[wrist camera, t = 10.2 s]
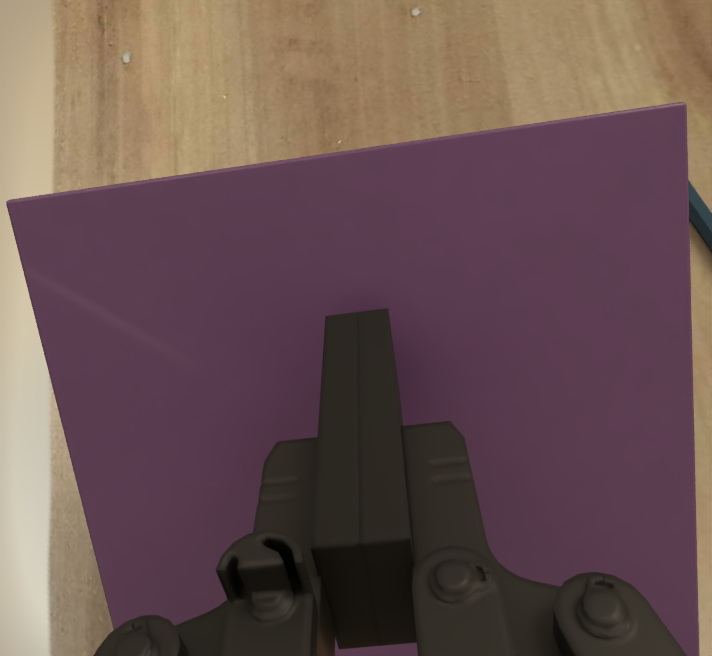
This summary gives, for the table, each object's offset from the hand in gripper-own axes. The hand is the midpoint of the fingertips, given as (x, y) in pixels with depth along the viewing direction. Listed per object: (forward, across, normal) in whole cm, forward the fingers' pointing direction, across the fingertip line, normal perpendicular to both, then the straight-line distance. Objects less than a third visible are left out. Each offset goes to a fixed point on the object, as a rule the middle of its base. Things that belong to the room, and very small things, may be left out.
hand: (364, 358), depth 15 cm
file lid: (+1, 0, -3) cm, 3 cm away
